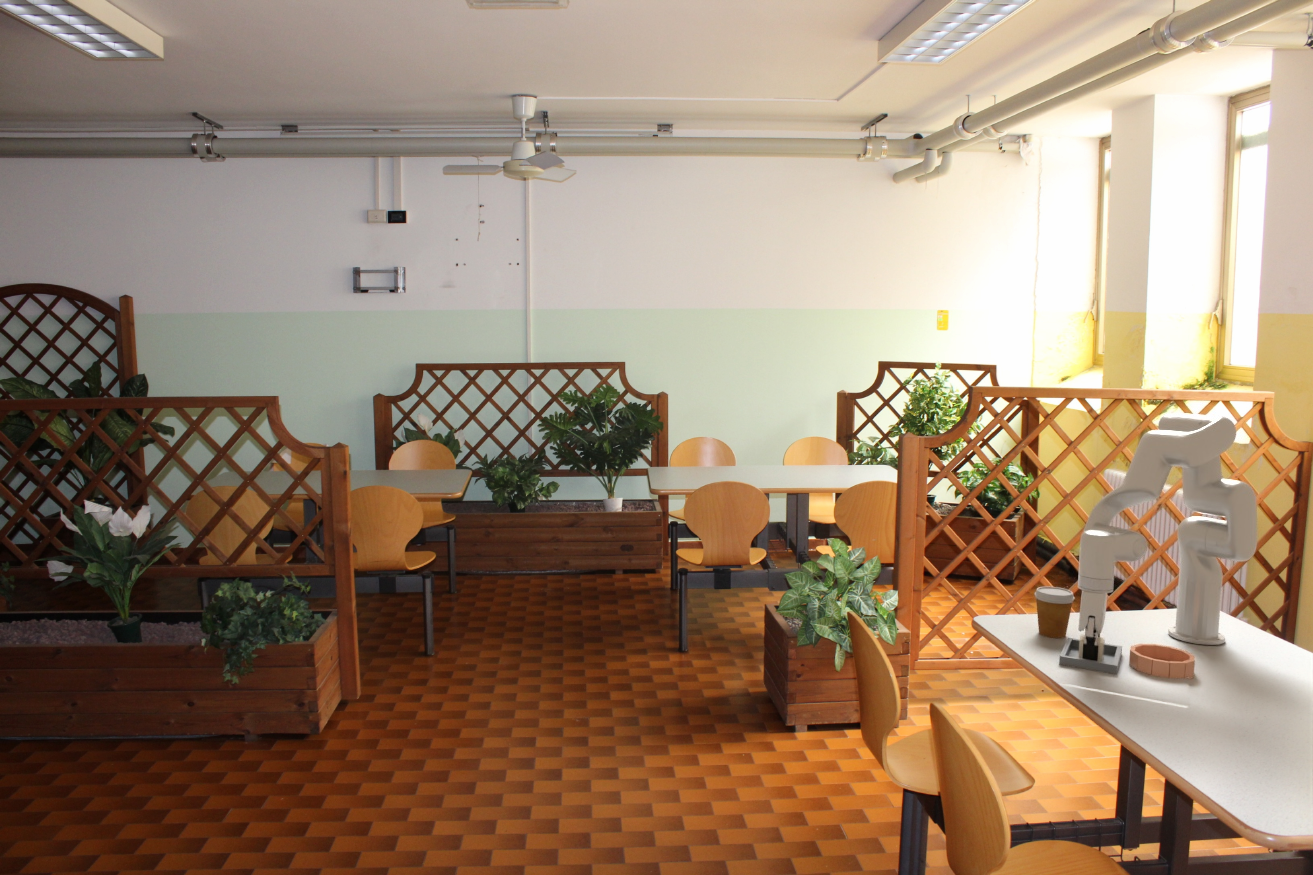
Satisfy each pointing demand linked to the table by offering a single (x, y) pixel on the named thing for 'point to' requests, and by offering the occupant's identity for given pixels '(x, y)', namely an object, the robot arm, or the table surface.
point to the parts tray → (1108, 665)
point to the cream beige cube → (1100, 645)
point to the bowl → (1162, 661)
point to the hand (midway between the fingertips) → (1091, 656)
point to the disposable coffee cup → (1053, 610)
